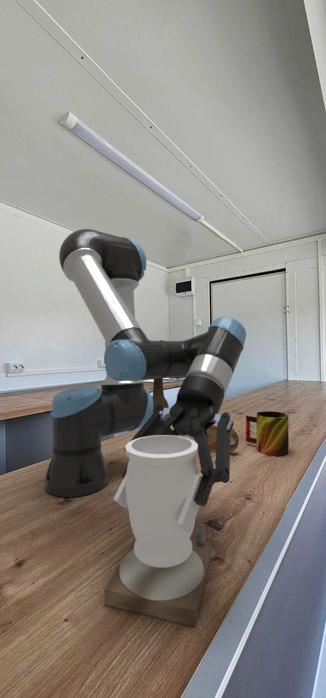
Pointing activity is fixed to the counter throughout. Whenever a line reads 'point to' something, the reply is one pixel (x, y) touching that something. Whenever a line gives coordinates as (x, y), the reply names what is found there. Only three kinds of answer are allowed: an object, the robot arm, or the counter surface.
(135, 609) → the seat board
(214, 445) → the tin
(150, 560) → the jar
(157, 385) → the beer bottle
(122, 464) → the counter surface
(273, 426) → the mug
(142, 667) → the counter surface
